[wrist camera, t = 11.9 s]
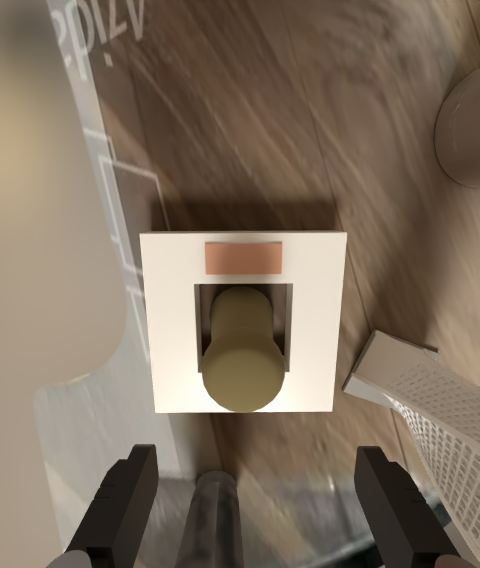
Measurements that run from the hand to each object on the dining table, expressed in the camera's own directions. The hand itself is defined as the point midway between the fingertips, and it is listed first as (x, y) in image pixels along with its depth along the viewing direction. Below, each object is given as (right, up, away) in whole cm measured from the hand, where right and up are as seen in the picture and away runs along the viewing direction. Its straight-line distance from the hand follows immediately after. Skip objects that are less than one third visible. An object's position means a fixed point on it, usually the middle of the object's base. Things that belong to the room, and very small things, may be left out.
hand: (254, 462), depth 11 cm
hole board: (0, +4, +16) cm, 16 cm away
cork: (0, +4, +16) cm, 16 cm away
